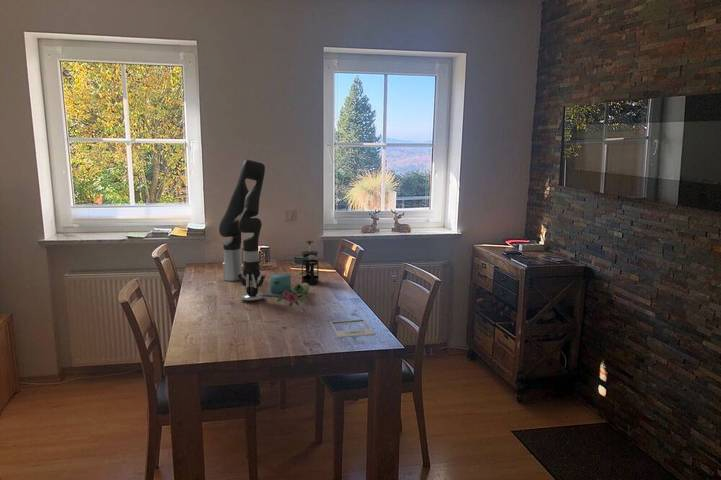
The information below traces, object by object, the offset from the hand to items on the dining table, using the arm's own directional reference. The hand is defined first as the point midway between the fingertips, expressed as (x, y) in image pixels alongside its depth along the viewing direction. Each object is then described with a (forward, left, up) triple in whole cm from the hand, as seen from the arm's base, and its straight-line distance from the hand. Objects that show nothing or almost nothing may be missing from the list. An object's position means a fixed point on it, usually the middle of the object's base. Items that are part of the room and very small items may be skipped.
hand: (252, 294), depth 262 cm
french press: (+18, +36, -3) cm, 40 cm away
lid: (0, 0, -1) cm, 1 cm away
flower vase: (+23, +1, -3) cm, 23 cm away
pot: (+9, +14, -3) cm, 17 cm away
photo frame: (+55, -31, -3) cm, 63 cm away
